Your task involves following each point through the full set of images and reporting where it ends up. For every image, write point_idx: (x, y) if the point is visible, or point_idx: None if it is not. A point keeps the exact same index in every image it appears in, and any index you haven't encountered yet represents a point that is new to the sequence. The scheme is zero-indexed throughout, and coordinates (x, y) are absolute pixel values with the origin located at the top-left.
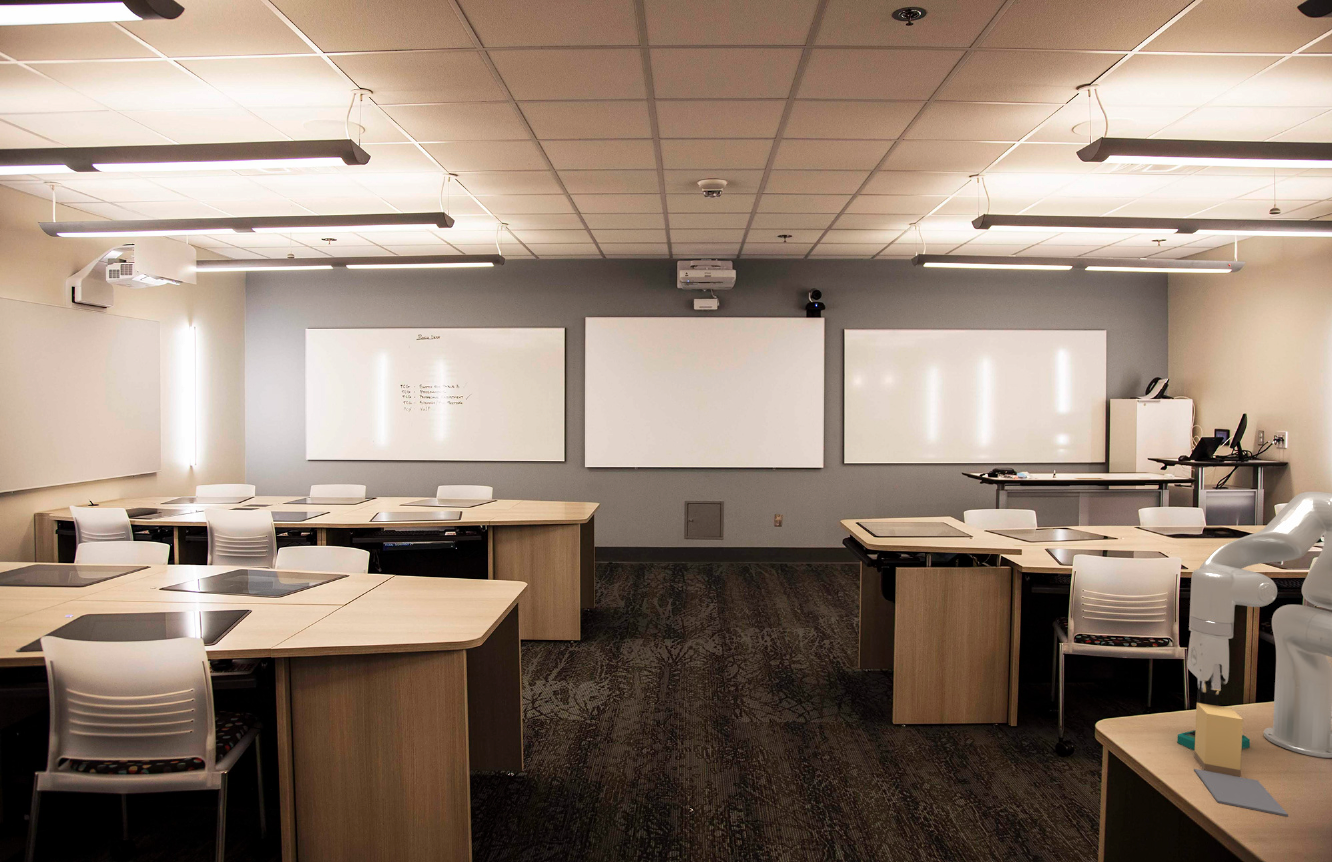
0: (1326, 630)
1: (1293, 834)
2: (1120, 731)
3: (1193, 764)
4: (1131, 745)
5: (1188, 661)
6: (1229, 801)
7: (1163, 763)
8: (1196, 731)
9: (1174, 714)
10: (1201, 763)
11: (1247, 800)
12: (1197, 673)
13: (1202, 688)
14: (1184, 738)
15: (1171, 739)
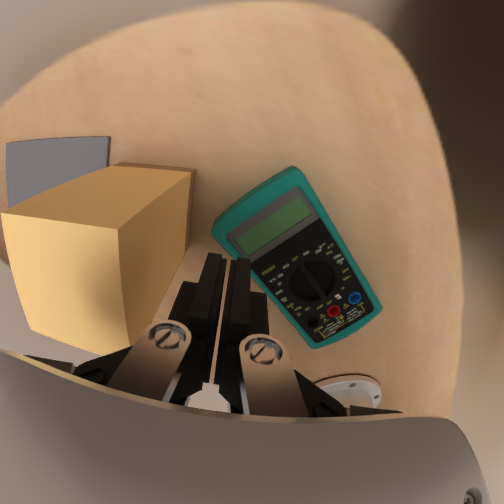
0: None
1: None
2: (329, 31)
3: (145, 147)
4: (225, 20)
5: (443, 488)
6: (9, 163)
7: (127, 71)
8: (160, 184)
9: (459, 258)
10: (136, 165)
11: (22, 197)
12: (7, 406)
13: (168, 343)
14: (275, 179)
15: (315, 159)
